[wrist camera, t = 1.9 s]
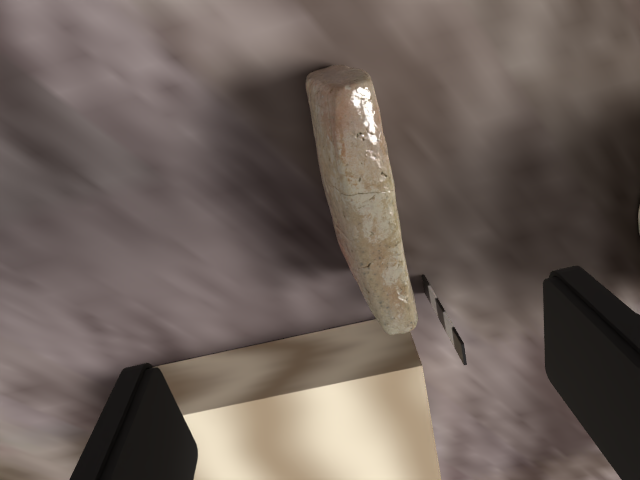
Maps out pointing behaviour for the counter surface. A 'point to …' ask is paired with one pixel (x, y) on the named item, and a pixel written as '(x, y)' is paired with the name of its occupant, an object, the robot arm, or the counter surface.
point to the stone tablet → (365, 197)
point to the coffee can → (639, 219)
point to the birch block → (310, 408)
